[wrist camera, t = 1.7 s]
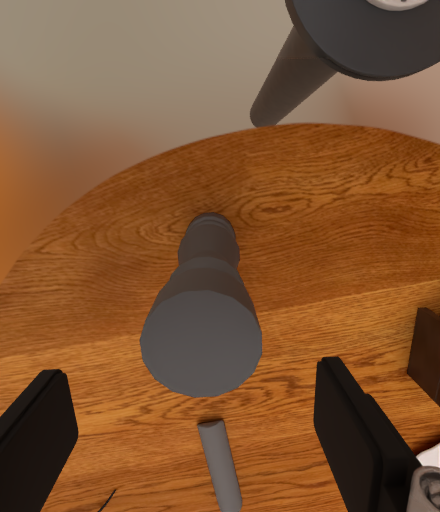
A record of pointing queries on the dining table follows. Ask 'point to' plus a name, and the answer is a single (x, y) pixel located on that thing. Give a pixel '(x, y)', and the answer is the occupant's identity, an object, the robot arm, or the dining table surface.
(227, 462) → the half round rod
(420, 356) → the block with raised lip
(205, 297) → the candle holder
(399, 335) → the dining table surface
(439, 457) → the plate
